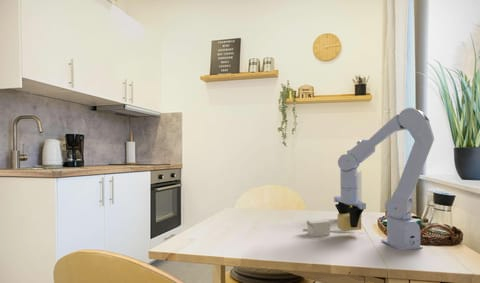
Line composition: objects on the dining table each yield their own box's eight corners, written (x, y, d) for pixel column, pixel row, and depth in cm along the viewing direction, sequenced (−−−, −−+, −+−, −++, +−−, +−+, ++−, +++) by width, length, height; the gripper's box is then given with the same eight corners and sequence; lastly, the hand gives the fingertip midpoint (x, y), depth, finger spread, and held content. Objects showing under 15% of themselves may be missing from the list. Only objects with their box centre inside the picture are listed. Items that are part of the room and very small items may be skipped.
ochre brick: (361, 229, 109) (361, 215, 109) (343, 230, 107) (343, 216, 107) (354, 226, 113) (354, 212, 113) (337, 227, 111) (337, 214, 111)
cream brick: (330, 235, 111) (330, 221, 111) (311, 237, 109) (311, 223, 109) (324, 232, 115) (324, 219, 115) (307, 233, 113) (306, 220, 113)
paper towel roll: (345, 219, 135) (345, 171, 135) (344, 216, 140) (344, 170, 140) (362, 220, 132) (362, 171, 132) (361, 217, 138) (361, 170, 138)
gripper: (372, 189, 105) (373, 229, 105) (344, 184, 118) (344, 219, 118) (356, 191, 102) (356, 231, 102) (329, 185, 116) (329, 221, 116)
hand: (349, 225), depth 110 cm, fingers closed on ochre brick, 4 cm apart
